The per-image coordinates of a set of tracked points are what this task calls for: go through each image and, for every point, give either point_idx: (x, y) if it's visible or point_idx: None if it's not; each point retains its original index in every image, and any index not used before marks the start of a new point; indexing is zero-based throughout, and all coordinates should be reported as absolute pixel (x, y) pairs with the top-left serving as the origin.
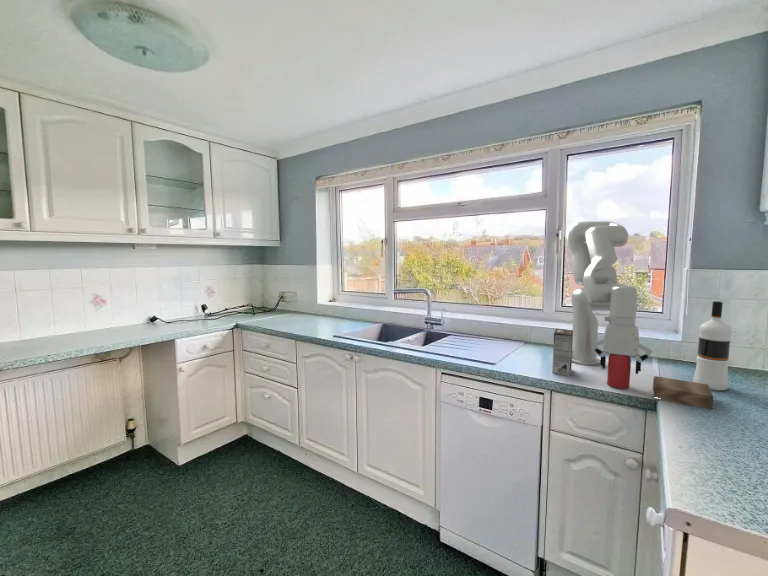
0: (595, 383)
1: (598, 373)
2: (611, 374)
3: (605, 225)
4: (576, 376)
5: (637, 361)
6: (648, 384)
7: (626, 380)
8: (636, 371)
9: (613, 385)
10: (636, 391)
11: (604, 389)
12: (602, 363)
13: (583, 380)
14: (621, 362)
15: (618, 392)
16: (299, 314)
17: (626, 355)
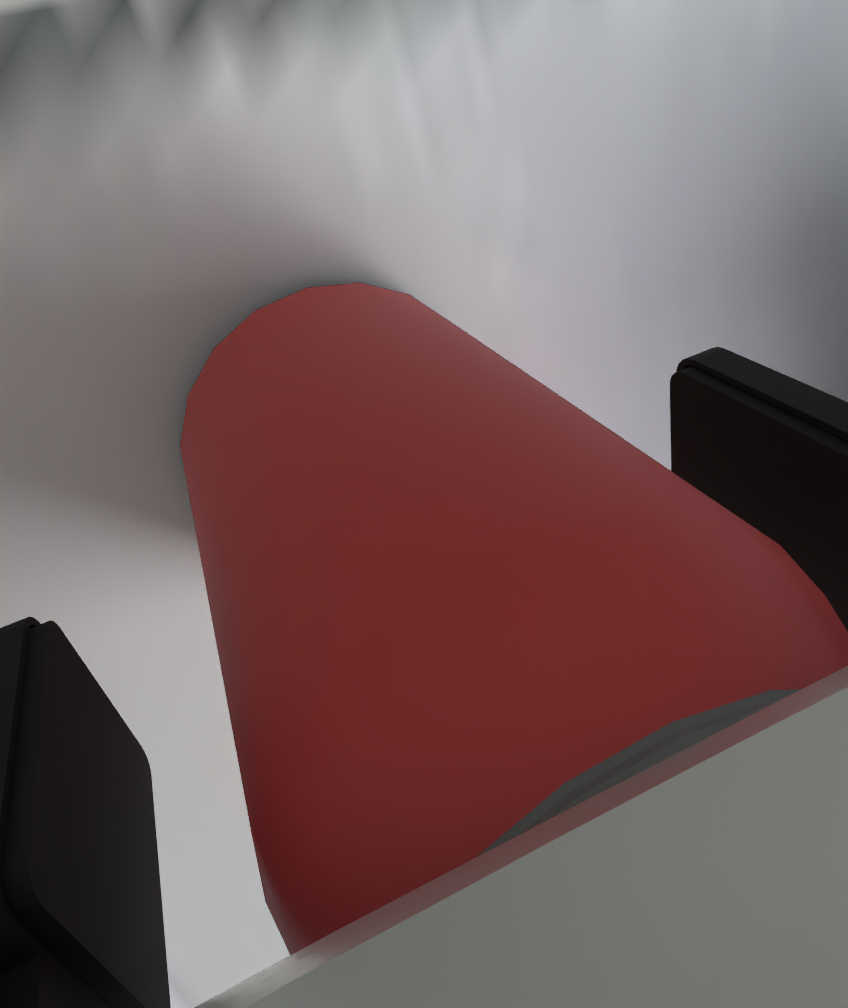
0: (598, 266)
1: None
2: (485, 349)
3: None
4: (826, 345)
5: (17, 981)
6: None
7: (206, 439)
8: (12, 649)
9: (361, 283)
10: (38, 434)
11: (423, 60)
12: (806, 387)
13: (744, 255)
14: (431, 555)
15: (196, 97)
16: None
17: (393, 914)
